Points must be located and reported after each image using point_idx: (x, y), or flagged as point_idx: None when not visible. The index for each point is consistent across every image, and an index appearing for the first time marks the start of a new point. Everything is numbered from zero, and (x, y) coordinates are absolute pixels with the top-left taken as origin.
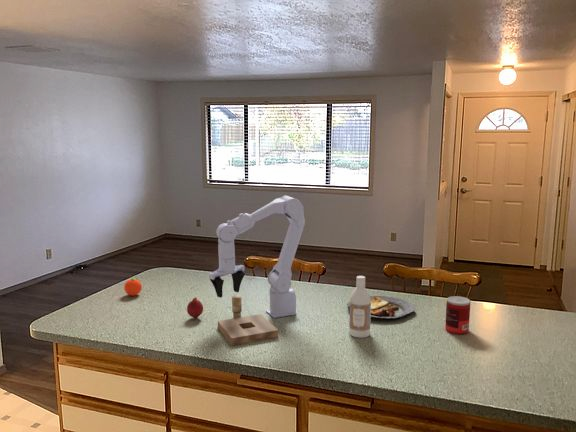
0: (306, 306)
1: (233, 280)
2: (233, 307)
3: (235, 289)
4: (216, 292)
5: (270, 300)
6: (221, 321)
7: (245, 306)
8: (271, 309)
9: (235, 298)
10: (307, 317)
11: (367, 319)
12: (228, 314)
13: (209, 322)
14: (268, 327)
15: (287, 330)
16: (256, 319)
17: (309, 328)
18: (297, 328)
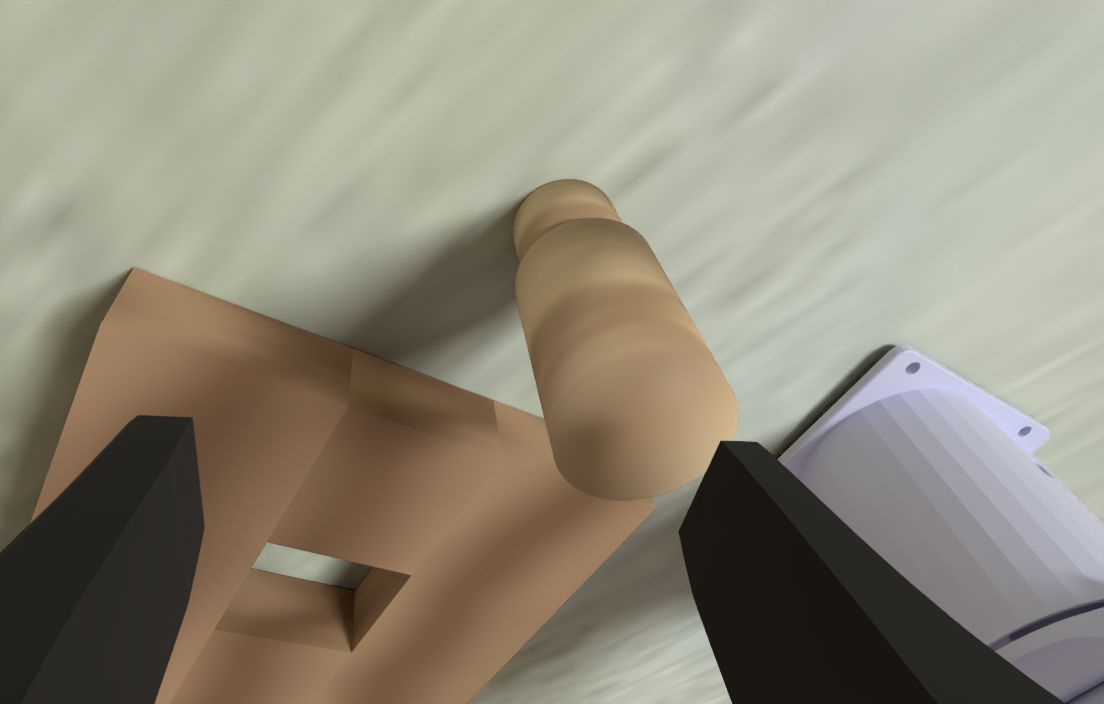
0: (1097, 494)
1: (885, 700)
2: (526, 324)
3: (720, 530)
4: (66, 508)
5: (904, 551)
6: (141, 371)
7: (1022, 10)
8: (836, 483)
9: (572, 465)
10: None
11: None
12: (618, 22)
13: (148, 3)
14: (416, 700)
15: (566, 659)
16: (501, 565)
17: (672, 699)
18: (634, 670)
